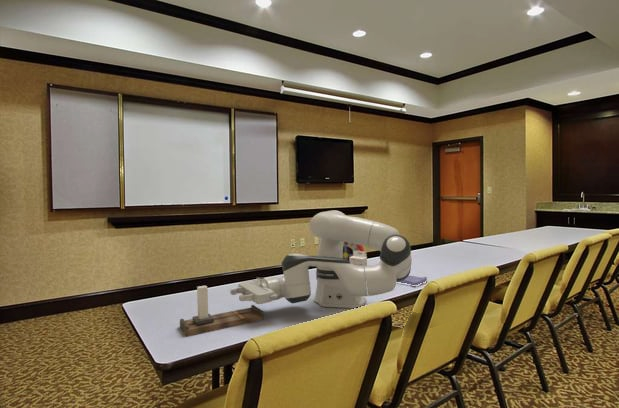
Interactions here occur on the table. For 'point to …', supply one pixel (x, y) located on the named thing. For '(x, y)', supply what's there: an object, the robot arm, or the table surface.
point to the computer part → (414, 280)
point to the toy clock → (350, 249)
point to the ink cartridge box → (359, 259)
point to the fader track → (223, 321)
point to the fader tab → (202, 307)
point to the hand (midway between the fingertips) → (235, 295)
